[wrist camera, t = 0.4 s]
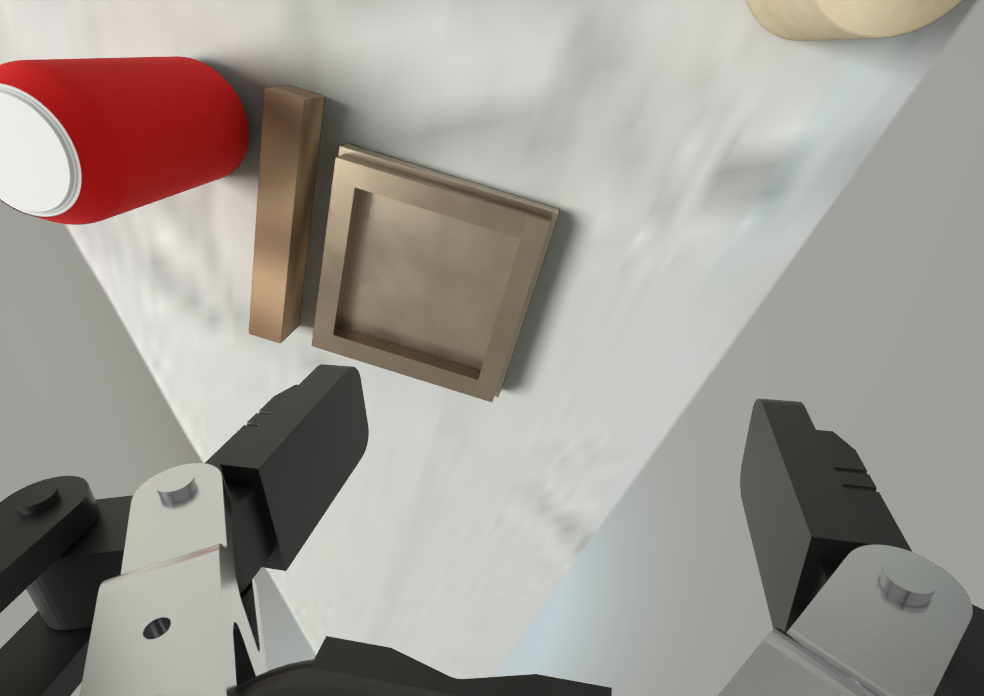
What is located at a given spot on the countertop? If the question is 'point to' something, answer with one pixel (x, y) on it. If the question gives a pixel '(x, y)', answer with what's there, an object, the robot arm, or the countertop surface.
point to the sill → (284, 208)
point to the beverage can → (113, 134)
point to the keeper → (427, 271)
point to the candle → (846, 17)
